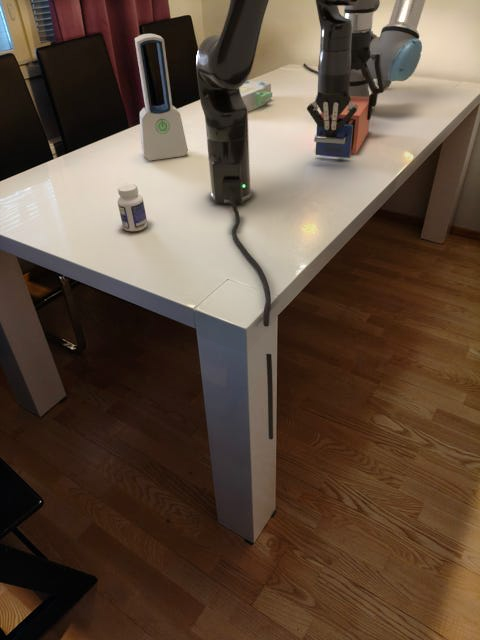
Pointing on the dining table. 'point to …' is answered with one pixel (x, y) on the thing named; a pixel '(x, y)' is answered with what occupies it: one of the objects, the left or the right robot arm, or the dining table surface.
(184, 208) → the dining table surface
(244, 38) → the left robot arm
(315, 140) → the drawer
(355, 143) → the cabinet
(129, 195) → the pill bottle
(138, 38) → the electronic device
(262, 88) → the decorative block
